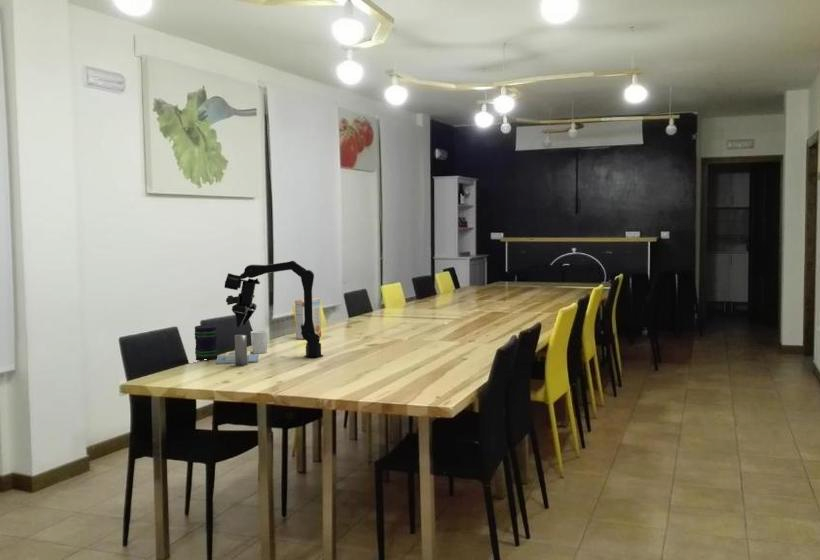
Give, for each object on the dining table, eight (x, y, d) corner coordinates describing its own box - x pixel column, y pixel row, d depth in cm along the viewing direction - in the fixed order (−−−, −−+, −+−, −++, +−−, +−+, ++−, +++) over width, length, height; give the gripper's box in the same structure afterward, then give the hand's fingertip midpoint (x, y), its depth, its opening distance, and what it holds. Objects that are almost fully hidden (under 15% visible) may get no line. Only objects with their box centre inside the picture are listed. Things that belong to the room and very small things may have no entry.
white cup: (264, 354, 346) (263, 333, 345) (248, 353, 348) (247, 332, 347) (270, 351, 354) (270, 330, 353) (255, 350, 355) (254, 330, 355)
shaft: (249, 364, 320) (248, 335, 319) (240, 366, 315) (240, 336, 314) (241, 363, 322) (240, 334, 321) (232, 365, 318) (232, 335, 317)
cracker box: (313, 335, 402) (312, 297, 400) (321, 336, 399) (320, 298, 397) (295, 339, 391) (294, 299, 389) (303, 340, 387) (302, 300, 386)
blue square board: (258, 355, 342) (258, 349, 342) (257, 362, 324) (257, 356, 324) (218, 357, 339) (218, 351, 339) (215, 364, 321) (215, 358, 321)
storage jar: (205, 361, 328) (204, 328, 327) (190, 359, 333) (189, 327, 332) (222, 358, 336) (221, 325, 335) (207, 356, 342) (206, 324, 340)
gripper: (236, 287, 342) (230, 320, 343) (223, 289, 324) (217, 324, 325) (259, 292, 342) (253, 325, 343) (248, 294, 323) (241, 329, 324)
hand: (241, 325), depth 334 cm, fingers open, 9 cm apart
